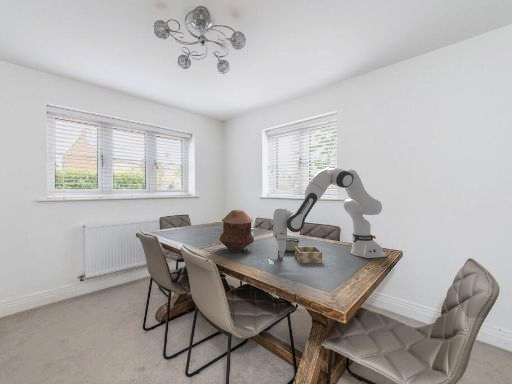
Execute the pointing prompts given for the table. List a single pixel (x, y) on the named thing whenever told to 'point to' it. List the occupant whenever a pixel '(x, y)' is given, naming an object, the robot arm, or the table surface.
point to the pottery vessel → (236, 231)
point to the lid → (273, 261)
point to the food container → (291, 245)
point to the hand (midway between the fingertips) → (280, 254)
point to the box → (308, 255)
